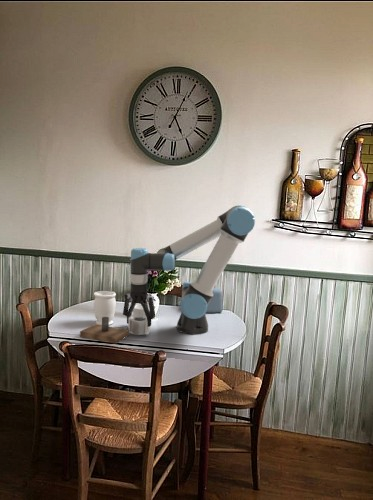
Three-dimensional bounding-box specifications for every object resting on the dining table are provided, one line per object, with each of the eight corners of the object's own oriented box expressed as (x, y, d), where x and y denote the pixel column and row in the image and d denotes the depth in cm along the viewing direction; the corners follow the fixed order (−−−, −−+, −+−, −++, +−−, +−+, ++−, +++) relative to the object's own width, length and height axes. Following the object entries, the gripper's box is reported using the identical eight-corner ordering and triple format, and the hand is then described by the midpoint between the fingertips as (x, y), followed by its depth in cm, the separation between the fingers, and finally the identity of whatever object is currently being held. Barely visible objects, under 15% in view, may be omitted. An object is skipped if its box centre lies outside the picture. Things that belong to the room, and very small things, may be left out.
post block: (129, 335, 209) (129, 317, 208) (115, 343, 198) (116, 324, 197) (94, 329, 216) (95, 311, 215) (80, 336, 205) (80, 318, 203)
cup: (130, 329, 219) (130, 308, 217) (137, 321, 230) (138, 301, 229) (147, 330, 217) (147, 310, 216) (153, 323, 229) (154, 303, 227)
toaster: (187, 306, 264) (188, 278, 262) (214, 305, 268) (215, 278, 266) (195, 314, 248) (196, 285, 246) (223, 313, 253) (225, 285, 250)
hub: (151, 330, 213) (151, 318, 212) (143, 335, 206) (143, 322, 205) (136, 328, 216) (136, 315, 215) (128, 333, 209) (128, 320, 208)
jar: (110, 327, 219) (111, 296, 217) (90, 325, 221) (90, 294, 219) (118, 321, 230) (119, 291, 227) (98, 318, 232) (99, 289, 229)
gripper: (163, 283, 206) (163, 332, 210) (122, 279, 214) (122, 326, 217) (156, 286, 199) (156, 337, 203) (114, 282, 207) (114, 331, 210)
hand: (138, 331), depth 210 cm, fingers closed on hub, 8 cm apart
